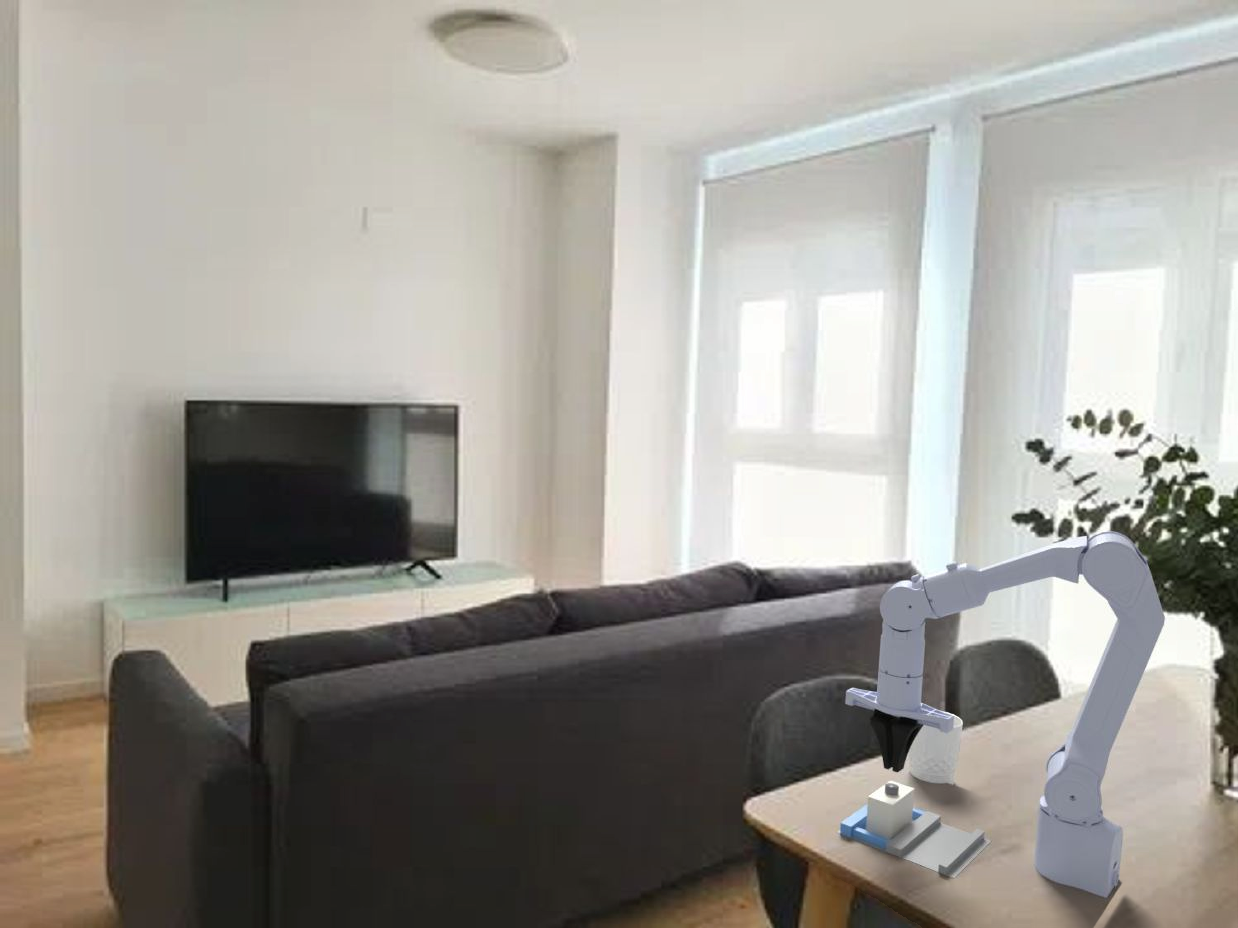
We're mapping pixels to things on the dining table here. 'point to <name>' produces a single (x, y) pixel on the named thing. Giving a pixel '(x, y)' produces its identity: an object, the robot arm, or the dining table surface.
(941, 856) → the board
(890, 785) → the white knob-topped box
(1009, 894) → the dining table surface
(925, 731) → the white cup
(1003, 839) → the dining table surface
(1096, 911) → the dining table surface
